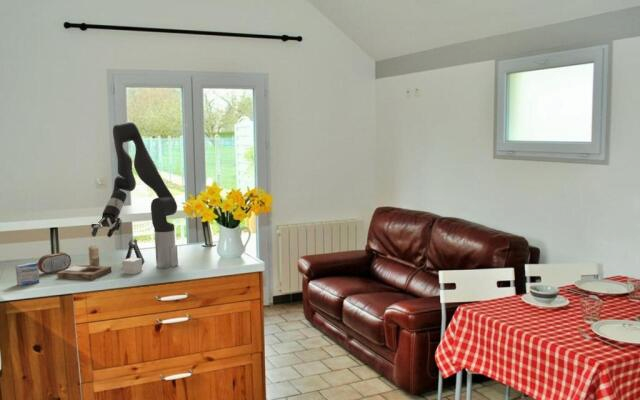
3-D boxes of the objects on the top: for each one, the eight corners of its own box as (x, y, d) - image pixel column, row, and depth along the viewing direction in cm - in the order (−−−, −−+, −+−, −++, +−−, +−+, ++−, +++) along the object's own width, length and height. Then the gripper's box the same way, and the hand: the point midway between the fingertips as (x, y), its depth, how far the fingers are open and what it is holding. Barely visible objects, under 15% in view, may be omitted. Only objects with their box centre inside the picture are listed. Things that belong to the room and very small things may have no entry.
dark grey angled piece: (123, 265, 286) (121, 241, 285) (125, 262, 292) (124, 238, 291) (142, 264, 288) (141, 240, 286) (144, 261, 293) (143, 238, 292)
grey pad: (87, 267, 274) (87, 266, 274) (77, 271, 267) (77, 270, 267) (74, 266, 276) (74, 266, 276) (64, 270, 269) (64, 270, 269)
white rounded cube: (142, 271, 276) (141, 258, 275) (134, 274, 271) (133, 261, 270) (131, 270, 278) (130, 257, 277) (123, 273, 273) (122, 260, 272)
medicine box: (21, 286, 254) (19, 266, 253) (16, 284, 257) (15, 265, 256) (39, 282, 260) (38, 263, 259) (35, 280, 263) (33, 261, 262)
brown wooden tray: (111, 271, 275) (111, 266, 275) (92, 280, 262) (92, 274, 261) (77, 270, 280) (77, 264, 279) (57, 278, 266) (57, 272, 266)
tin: (69, 267, 285) (67, 250, 284) (72, 268, 283) (71, 251, 282) (38, 274, 273) (36, 256, 272) (41, 275, 271) (39, 257, 270)
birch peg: (101, 266, 286) (100, 246, 284) (96, 268, 281) (94, 248, 280) (93, 266, 287) (92, 245, 285) (88, 268, 283) (86, 247, 281)
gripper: (97, 204, 296) (84, 231, 287) (122, 205, 293) (110, 232, 284) (104, 213, 302) (91, 239, 293) (129, 213, 299) (117, 240, 289)
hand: (100, 236), depth 288 cm, fingers open, 8 cm apart
